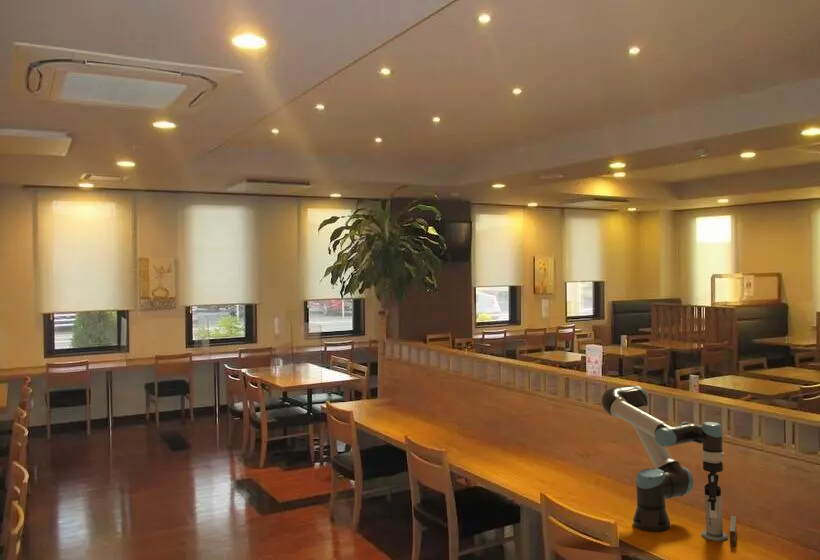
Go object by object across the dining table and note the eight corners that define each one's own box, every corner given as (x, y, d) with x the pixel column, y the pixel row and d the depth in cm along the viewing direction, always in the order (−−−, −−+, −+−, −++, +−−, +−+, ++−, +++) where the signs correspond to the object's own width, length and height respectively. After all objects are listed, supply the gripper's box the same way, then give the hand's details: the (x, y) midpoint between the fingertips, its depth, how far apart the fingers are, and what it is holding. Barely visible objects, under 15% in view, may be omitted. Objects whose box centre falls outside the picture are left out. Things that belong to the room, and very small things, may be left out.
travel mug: (718, 530, 288) (715, 482, 288) (725, 536, 282) (723, 487, 281) (703, 531, 288) (701, 483, 288) (710, 537, 282) (708, 488, 281)
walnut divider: (730, 545, 275) (729, 530, 275) (731, 529, 291) (730, 515, 291) (735, 546, 274) (735, 531, 274) (736, 530, 290) (736, 516, 290)
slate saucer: (700, 538, 282) (700, 537, 282) (702, 530, 291) (702, 528, 291) (727, 542, 278) (727, 540, 278) (728, 533, 287) (728, 531, 287)
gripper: (721, 469, 271) (722, 523, 272) (723, 453, 294) (724, 503, 294) (700, 468, 275) (702, 521, 275) (704, 452, 297) (705, 501, 297)
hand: (714, 512), depth 285 cm, fingers open, 13 cm apart
